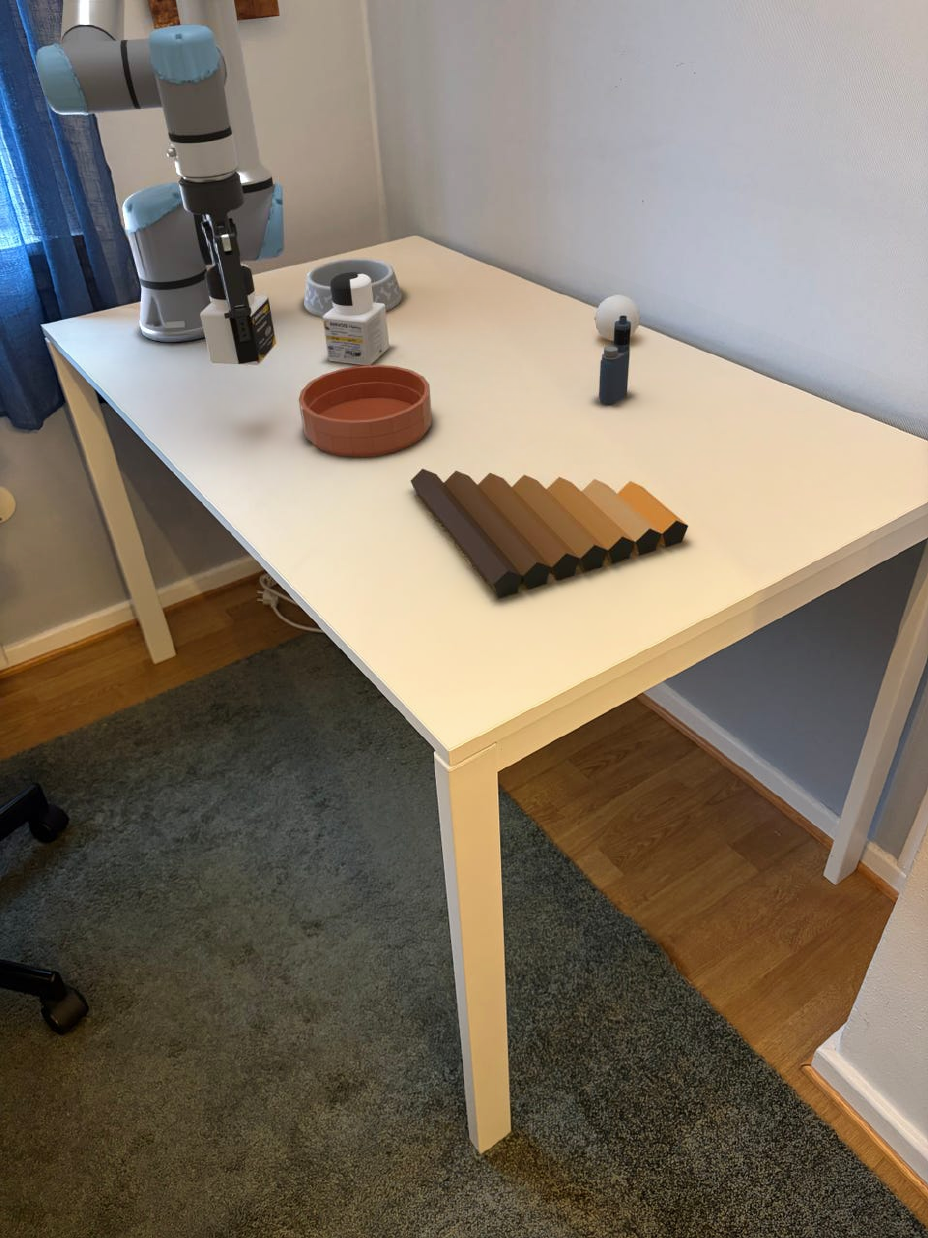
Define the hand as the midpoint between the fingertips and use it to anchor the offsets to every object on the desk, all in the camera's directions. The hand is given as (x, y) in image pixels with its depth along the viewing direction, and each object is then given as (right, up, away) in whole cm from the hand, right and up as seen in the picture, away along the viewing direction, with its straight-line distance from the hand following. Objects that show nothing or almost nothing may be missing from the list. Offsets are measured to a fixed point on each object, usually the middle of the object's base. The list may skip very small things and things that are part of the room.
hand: (242, 346), depth 132 cm
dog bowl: (+10, +22, +47) cm, 53 cm away
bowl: (+17, -10, +6) cm, 20 cm away
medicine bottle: (0, -1, +1) cm, 1 cm away
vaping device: (+53, -5, +10) cm, 54 cm away
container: (+13, +6, +27) cm, 31 cm away
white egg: (+55, +9, +28) cm, 63 cm away
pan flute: (+40, -25, -14) cm, 50 cm away
